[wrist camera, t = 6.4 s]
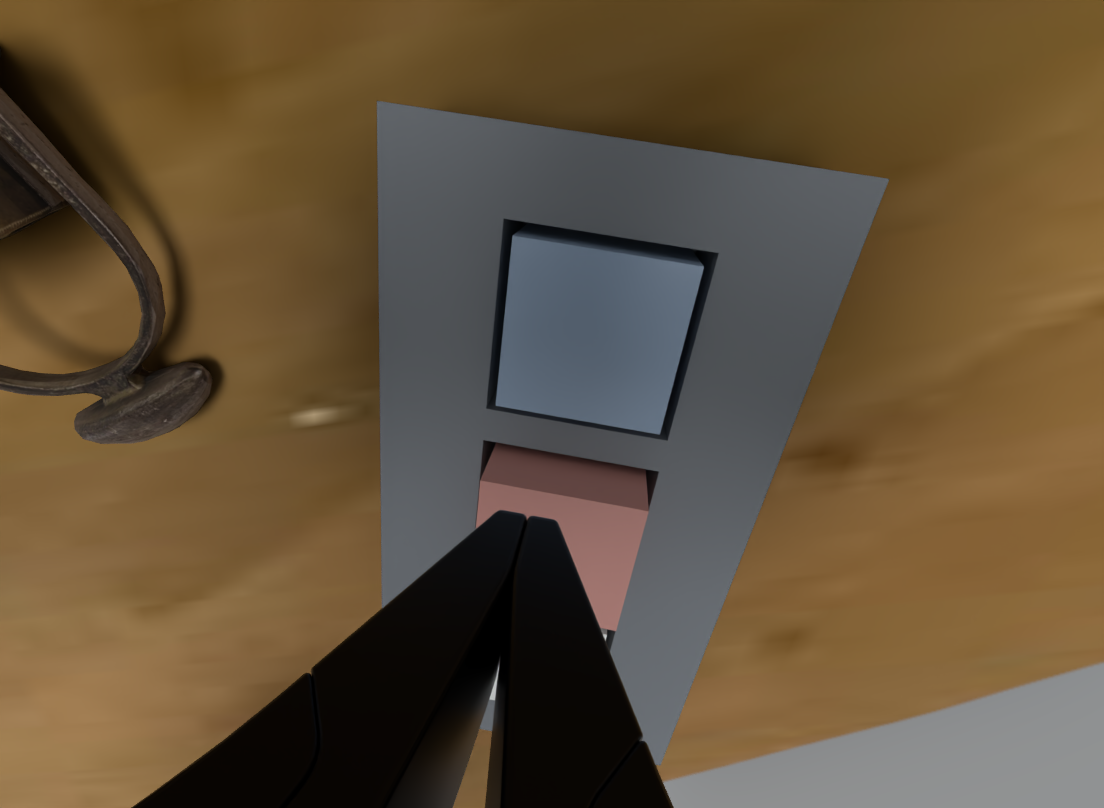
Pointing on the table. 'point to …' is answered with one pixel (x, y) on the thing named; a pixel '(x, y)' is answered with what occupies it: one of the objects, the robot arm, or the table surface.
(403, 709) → the robot arm
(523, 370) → the blue key
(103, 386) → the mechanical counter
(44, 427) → the table surface
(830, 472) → the table surface
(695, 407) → the key panel
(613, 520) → the red key
